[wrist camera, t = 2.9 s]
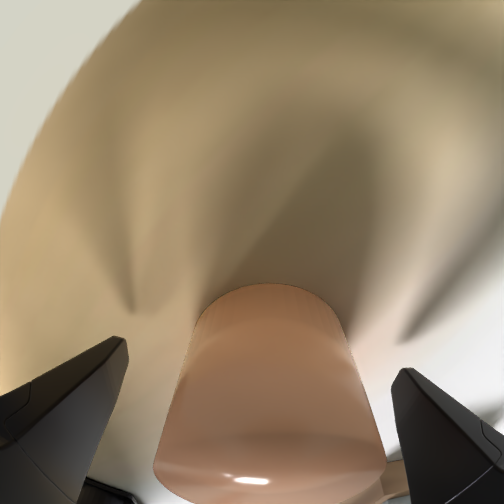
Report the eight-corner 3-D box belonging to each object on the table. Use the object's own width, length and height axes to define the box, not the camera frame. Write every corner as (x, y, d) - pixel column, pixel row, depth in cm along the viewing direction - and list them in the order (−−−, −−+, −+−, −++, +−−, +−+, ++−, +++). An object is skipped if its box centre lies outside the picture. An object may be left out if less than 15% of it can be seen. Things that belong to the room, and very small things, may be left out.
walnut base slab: (323, 507, 17) (325, 534, 14) (374, 456, 13) (384, 495, 10) (417, 490, 17) (423, 513, 14) (479, 432, 13) (492, 459, 11)
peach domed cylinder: (192, 388, 10) (164, 503, 5) (195, 271, 8) (136, 408, 4) (320, 401, 10) (338, 512, 6) (361, 293, 8) (430, 421, 4)
